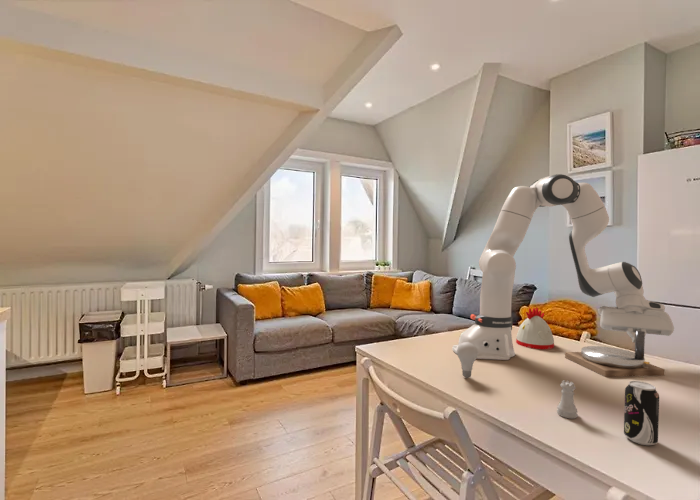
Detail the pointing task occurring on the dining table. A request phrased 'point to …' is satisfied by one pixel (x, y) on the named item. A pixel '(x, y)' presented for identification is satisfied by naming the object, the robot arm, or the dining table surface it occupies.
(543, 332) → the kitchen timer
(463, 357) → the lightbulb
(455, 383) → the dining table surface
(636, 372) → the stand
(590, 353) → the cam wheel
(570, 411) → the rook chess piece
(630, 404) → the beverage can
